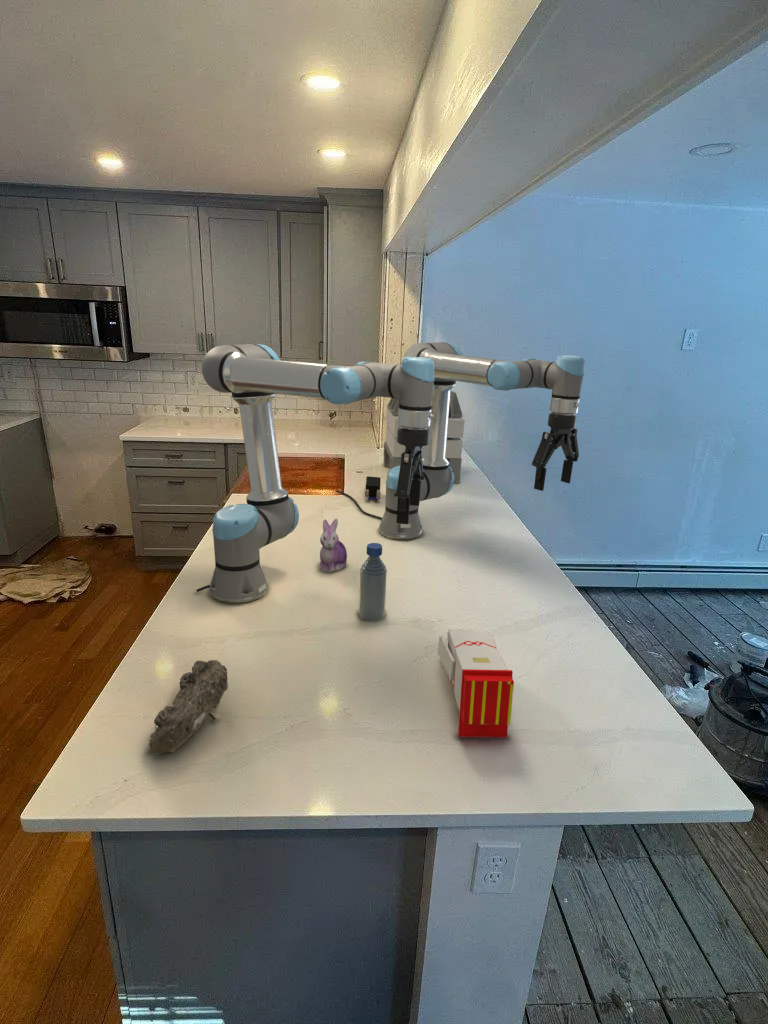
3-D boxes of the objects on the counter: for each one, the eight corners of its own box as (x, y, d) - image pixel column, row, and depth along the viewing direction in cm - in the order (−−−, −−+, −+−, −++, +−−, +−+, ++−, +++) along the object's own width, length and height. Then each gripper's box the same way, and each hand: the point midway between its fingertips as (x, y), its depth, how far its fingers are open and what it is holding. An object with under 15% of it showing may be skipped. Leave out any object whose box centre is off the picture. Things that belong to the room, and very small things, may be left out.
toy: (488, 613, 130) (523, 677, 101) (484, 667, 133) (517, 744, 104) (435, 612, 130) (455, 676, 101) (432, 666, 133) (451, 743, 103)
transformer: (382, 463, 289) (386, 382, 275) (445, 464, 293) (451, 384, 279) (390, 482, 257) (394, 392, 243) (460, 483, 261) (468, 394, 247)
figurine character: (380, 506, 230) (380, 491, 243) (381, 489, 227) (381, 475, 240) (364, 506, 230) (364, 491, 243) (364, 489, 226) (365, 474, 240)
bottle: (376, 623, 143) (379, 554, 136) (354, 615, 146) (356, 548, 139) (389, 612, 148) (392, 545, 142) (367, 605, 151) (369, 539, 145)
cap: (377, 558, 139) (377, 550, 138) (363, 554, 140) (364, 546, 140) (384, 553, 142) (385, 544, 141) (371, 549, 144) (371, 541, 143)
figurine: (324, 575, 166) (325, 528, 161) (312, 561, 175) (312, 516, 170) (353, 570, 170) (355, 523, 165) (340, 557, 179) (341, 512, 174)
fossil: (177, 661, 117) (228, 629, 112) (210, 691, 120) (261, 661, 115) (124, 747, 97) (183, 713, 92) (164, 781, 100) (223, 749, 95)
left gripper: (420, 439, 118) (413, 534, 125) (438, 419, 141) (432, 500, 148) (385, 436, 119) (380, 529, 127) (408, 416, 142) (404, 496, 150)
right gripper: (548, 419, 148) (537, 496, 155) (598, 411, 163) (586, 482, 171) (525, 414, 153) (515, 489, 160) (575, 407, 169) (564, 476, 176)
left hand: (408, 513), depth 137 cm, fingers open, 13 cm apart
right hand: (552, 485), depth 166 cm, fingers open, 13 cm apart
